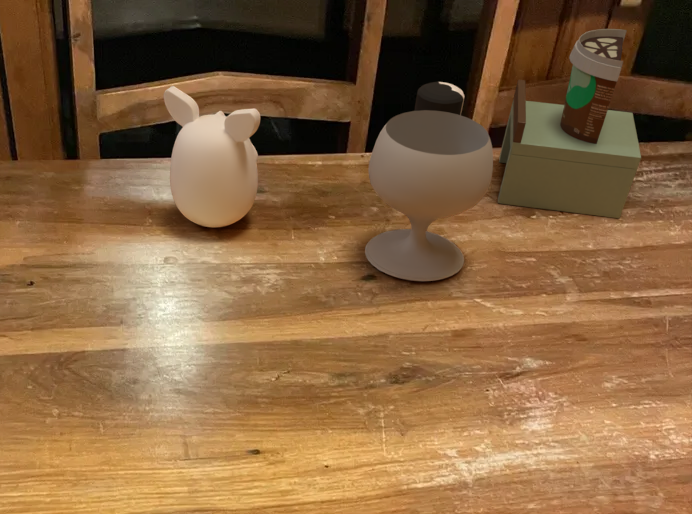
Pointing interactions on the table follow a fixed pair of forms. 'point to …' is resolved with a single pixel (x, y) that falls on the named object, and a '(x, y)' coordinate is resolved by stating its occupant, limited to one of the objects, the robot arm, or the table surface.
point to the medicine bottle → (440, 98)
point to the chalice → (427, 188)
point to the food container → (592, 82)
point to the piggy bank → (212, 162)
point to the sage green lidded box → (566, 161)
